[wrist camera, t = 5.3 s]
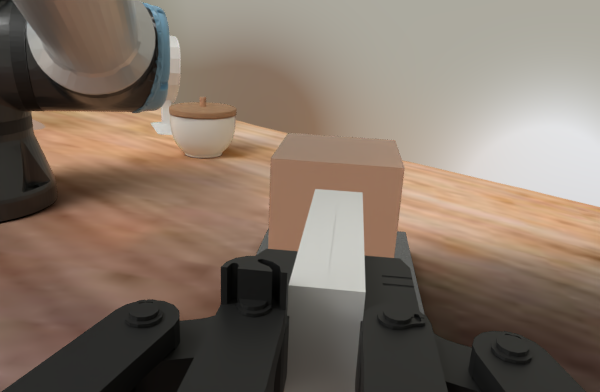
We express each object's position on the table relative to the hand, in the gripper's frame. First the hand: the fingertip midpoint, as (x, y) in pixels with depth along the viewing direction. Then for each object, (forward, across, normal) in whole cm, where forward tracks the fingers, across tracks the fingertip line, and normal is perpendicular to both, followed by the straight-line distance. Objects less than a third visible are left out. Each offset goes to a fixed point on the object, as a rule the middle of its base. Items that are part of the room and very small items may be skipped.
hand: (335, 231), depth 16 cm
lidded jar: (+65, -24, -14) cm, 71 cm away
